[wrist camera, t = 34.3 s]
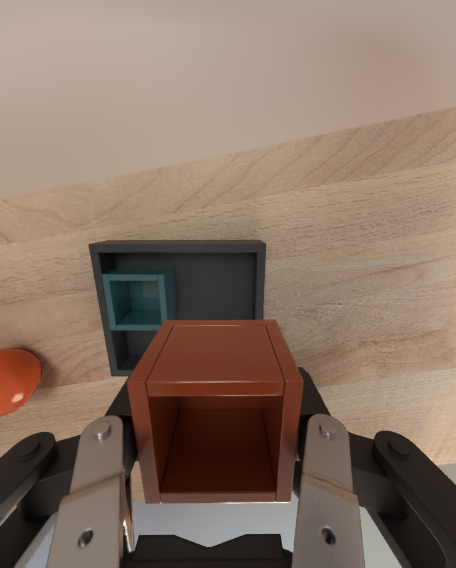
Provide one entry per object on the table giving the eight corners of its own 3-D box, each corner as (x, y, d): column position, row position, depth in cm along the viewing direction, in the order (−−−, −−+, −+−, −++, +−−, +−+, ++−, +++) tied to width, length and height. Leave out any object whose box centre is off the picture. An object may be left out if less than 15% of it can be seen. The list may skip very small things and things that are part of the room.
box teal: (123, 264, 25) (101, 274, 20) (174, 264, 25) (163, 274, 20) (129, 312, 26) (110, 330, 22) (177, 312, 26) (168, 330, 22)
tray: (107, 240, 25) (88, 244, 21) (260, 240, 25) (266, 243, 21) (125, 357, 29) (111, 376, 25) (256, 356, 29) (260, 375, 25)
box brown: (164, 319, 11) (125, 381, 7) (275, 319, 11) (304, 380, 7) (172, 409, 13) (144, 504, 9) (269, 408, 13) (291, 503, 9)
